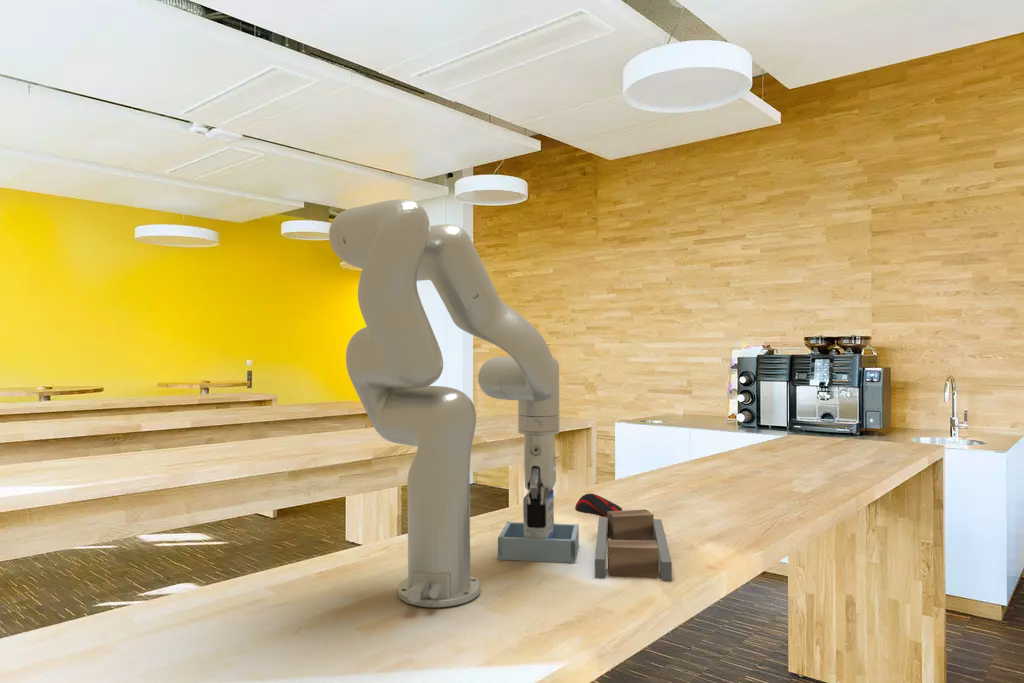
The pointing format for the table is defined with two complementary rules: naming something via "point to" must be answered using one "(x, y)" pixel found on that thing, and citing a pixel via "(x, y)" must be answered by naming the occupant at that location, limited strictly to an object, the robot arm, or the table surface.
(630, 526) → the far walnut block
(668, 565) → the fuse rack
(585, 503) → the computer mouse
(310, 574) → the table surface
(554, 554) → the tray
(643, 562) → the near walnut block
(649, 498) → the table surface
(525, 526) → the medicine box
